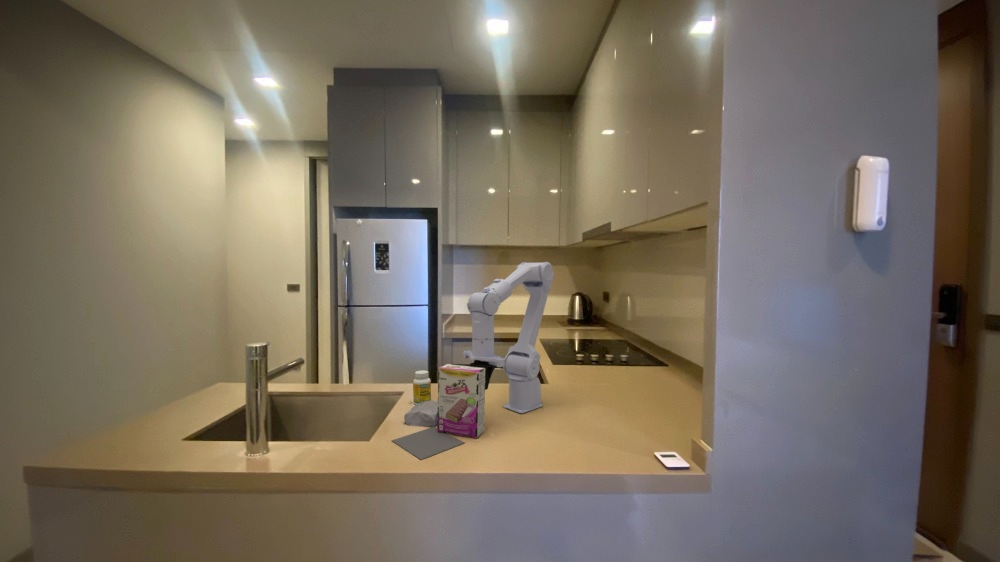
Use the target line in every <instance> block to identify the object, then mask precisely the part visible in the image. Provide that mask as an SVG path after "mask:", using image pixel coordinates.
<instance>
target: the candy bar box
mask: <svg viewBox="0 0 1000 562" xmlns="http://www.w3.org/2000/svg"><path fill="white" fill-rule="evenodd" d="M437 371H438V372H437V373H438V375H437V377H438V378H437V380H438V382H437V385H438V386H437V401H438V419H437V425H436V428H437V431H438V432H444V433H447V434H449V435H456V436H461V437H467V438H473V439H474V438H475V439H478V438H479V437H480V436H481V435H482V434H483V433H484V432H485V409H486V408H485V407H486V405H485V402H486V401H485V400H486V390H485V368H479V367H470V365H469V366H467V365H460V364H459V365H458V364H453V363H452V364H450V363H446V364H444V365H442V366H439V367H438V368H437Z"/></svg>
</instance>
